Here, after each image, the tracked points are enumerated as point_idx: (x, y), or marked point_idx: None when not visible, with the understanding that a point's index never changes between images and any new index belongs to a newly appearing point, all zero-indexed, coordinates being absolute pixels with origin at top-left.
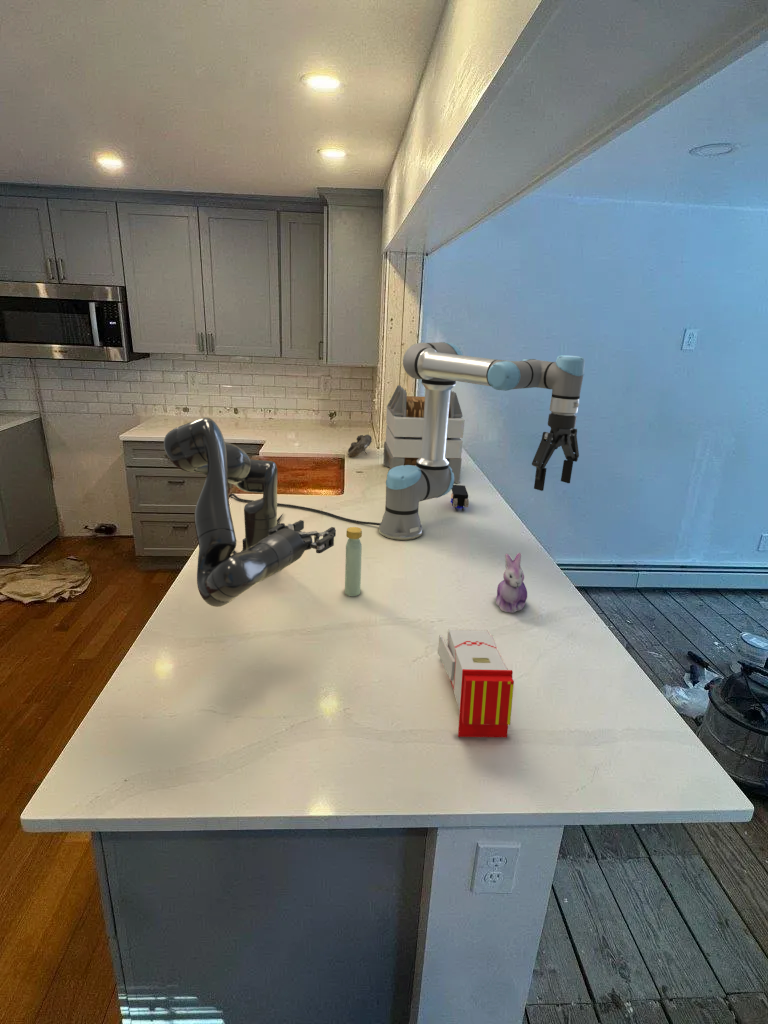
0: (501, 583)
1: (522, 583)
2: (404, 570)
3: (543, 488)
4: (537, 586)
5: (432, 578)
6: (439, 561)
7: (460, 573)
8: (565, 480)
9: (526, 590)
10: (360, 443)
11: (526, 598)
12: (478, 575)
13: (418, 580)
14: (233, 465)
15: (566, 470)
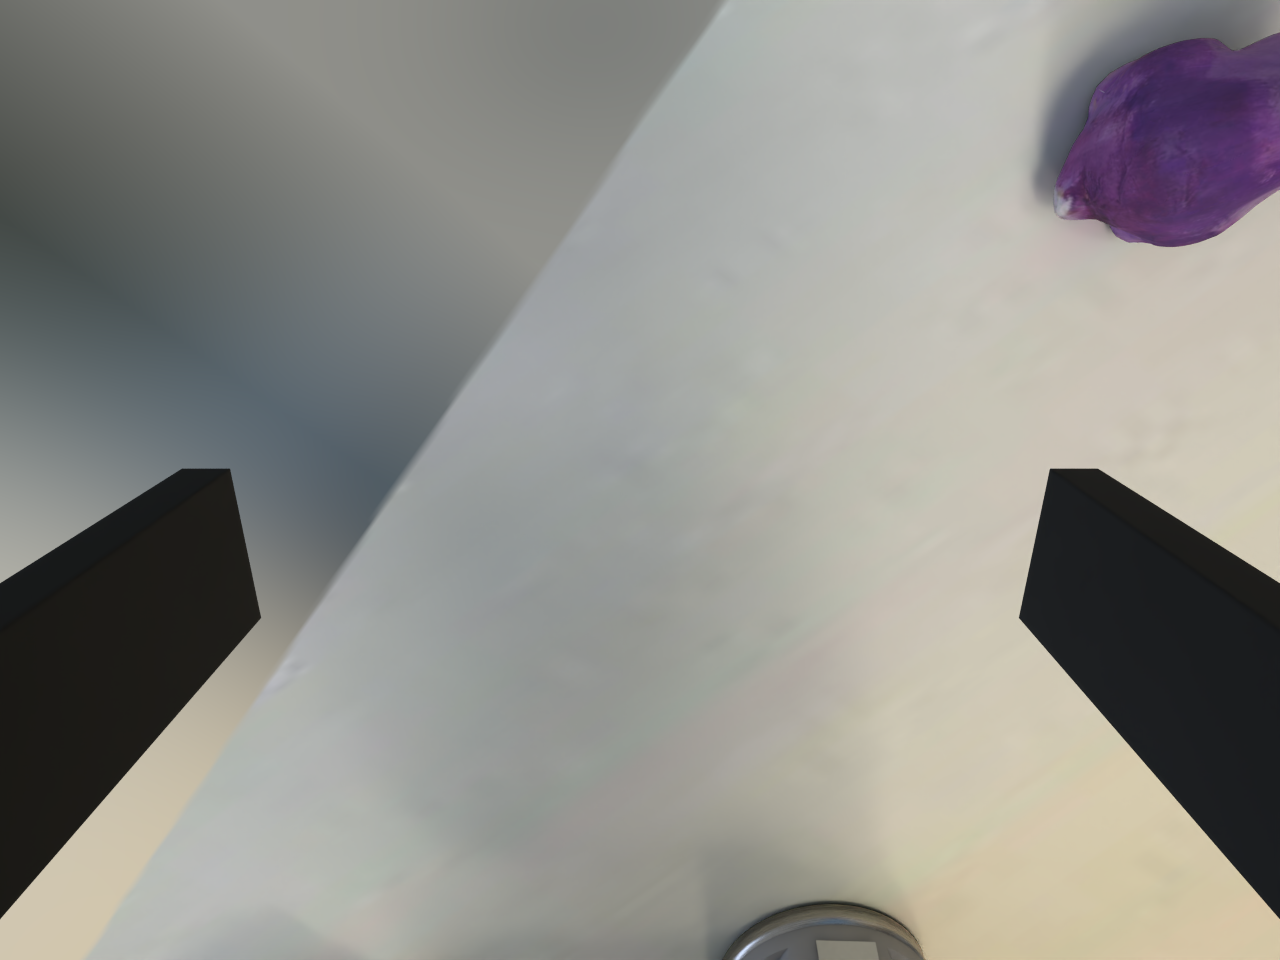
0: (1249, 207)
1: (1218, 83)
2: None
3: (1076, 483)
4: (816, 186)
5: None
6: (957, 690)
7: (1000, 547)
8: (223, 551)
9: (1175, 58)
10: None
11: (1160, 48)
12: (950, 479)
13: None
14: None
15: (96, 682)
